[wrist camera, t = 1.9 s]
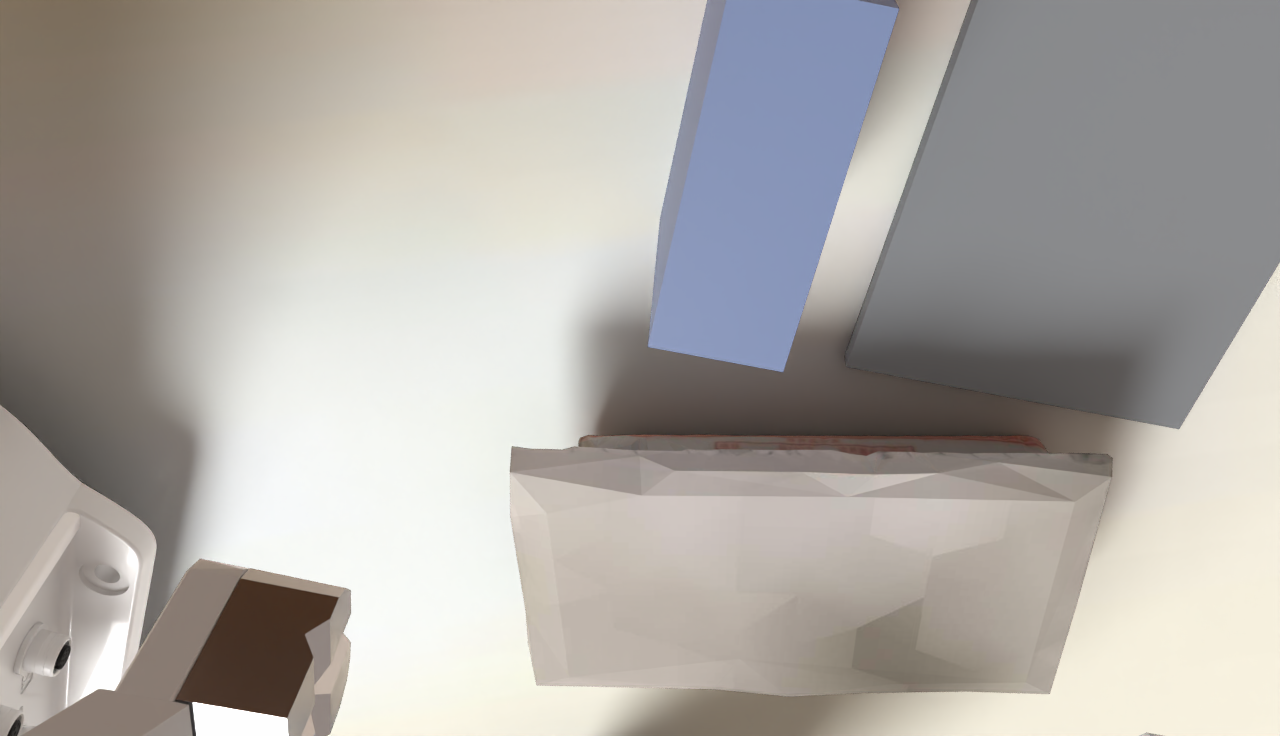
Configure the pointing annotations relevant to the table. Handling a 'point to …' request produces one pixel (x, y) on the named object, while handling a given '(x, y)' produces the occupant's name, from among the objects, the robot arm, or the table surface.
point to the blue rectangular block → (760, 171)
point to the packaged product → (803, 561)
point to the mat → (1086, 206)
